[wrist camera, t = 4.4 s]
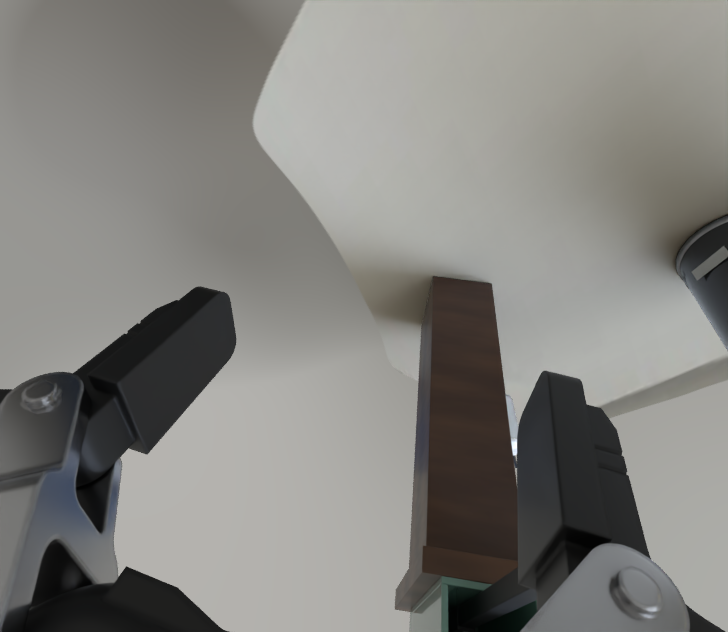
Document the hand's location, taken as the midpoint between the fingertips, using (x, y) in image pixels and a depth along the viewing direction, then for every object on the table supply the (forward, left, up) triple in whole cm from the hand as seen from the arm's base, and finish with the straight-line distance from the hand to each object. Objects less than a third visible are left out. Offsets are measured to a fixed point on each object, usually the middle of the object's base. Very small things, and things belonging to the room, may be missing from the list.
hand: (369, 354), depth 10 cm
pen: (+13, +20, +1) cm, 23 cm away
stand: (+18, +23, -31) cm, 43 cm away
